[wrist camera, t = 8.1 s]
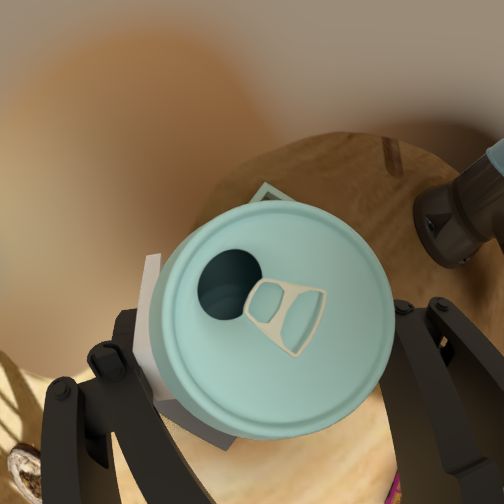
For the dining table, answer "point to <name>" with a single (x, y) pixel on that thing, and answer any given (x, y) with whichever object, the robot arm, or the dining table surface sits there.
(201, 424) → the coaster
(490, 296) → the dining table surface
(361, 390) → the can
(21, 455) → the sushi roll
